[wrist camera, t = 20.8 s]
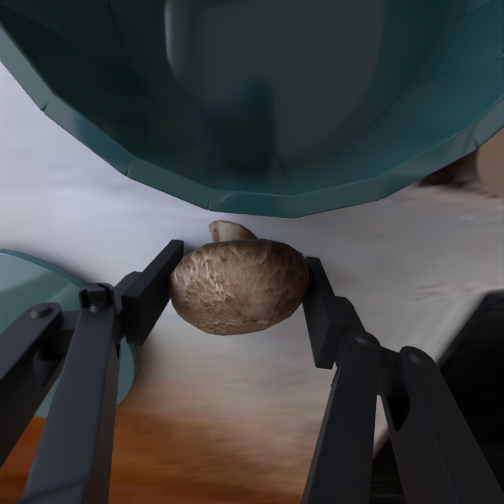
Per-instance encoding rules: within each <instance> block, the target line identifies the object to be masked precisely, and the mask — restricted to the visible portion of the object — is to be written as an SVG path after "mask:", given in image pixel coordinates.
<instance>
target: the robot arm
mask: <svg viewBox="0 0 504 504" xmlns="http://www.w3.org/2000/svg"><path fill="white" fill-rule="evenodd" d="M183 257H184V241H180V240H171V241H170V242H169V244H168V245H167V246H166V247H165V248H164V249H163V250H162V251H161V252H160V253H159V254H158V256H157V257H156V258H155V259H154V260H153V261H152V262H151V263H150V264H149V265H148V266H147V268H146V269H145V270H144V271H143V272H136V271H134V272H132V273H130V274H128V275H126V276H125V277H124V278H123V279H122V280H121V282H119V283H118V284H117V286H115V287H114V288H113V286H112V285H110V284H107V283H95V284H90V285H88V286H85V287H84V288H82V289H81V290H80V291H79V292H78V295H79V300H80V304H81V309H80V310H70V311H62V308H61V305H60V304H58V303H56V302H44V303H39V304H36V305H34V306H32V307H30V308H28V309H27V310H25V311H24V312H23V313H22V314H21V315H20V316H19V317H18V318H17V319H16V320H15V321H13V322H12V323H11V324H10V325H9V326H8V327H7V328H6V329H5V330H4V331H3V332H2V333H1V334H0V468H1V467H2V465H3V464H4V462H5V460H6V459H7V457H8V456H9V454H10V453H11V451H12V449H13V448H14V446H15V445H16V443H17V441H18V440H19V438H20V437H21V435H22V434H23V432H24V430H25V429H26V427H27V426H28V424H29V423H30V421H31V419H32V418H33V416H34V415H35V413H36V411H37V410H38V408H39V407H40V405H41V404H42V402H43V400H44V399H45V397H46V396H47V394H48V393H49V391H50V389H51V388H52V386H53V385H54V383H55V381H56V380H57V378H58V377H59V375H60V378H59V381H58V384H57V387H56V390H55V393H54V397H53V400H52V403H51V406H50V409H49V412H48V416H47V419H46V422H45V425H44V428H43V431H42V434H41V438H40V441H39V444H38V447H37V450H36V453H35V457H34V460H33V463H32V466H31V469H30V472H29V476H28V479H27V482H26V485H25V488H24V491H23V494H22V496H21V498H20V499H19V501H18V502H16V503H15V504H108V497H109V485H110V474H111V462H112V450H113V439H114V427H115V416H116V404H117V392H118V381H119V369H120V358H121V342H120V341H121V340H122V339H123V337H124V336H125V335H126V343H127V344H134V345H143V344H144V342H145V340H146V339H147V337H148V335H149V334H150V332H151V330H152V329H153V327H154V325H155V324H156V322H157V320H158V319H159V317H160V315H161V314H162V312H163V310H164V308H165V307H166V305H167V303H168V302H169V300H170V298H171V295H170V289H169V277H170V275H171V274H172V273H173V271H174V270H175V268H176V267H177V266H178V264H179V263H180V261H181V260H182V259H183ZM306 263H307V266H308V271H309V276H310V285H309V289H308V292H307V294H306V296H305V298H304V300H303V301H302V304H303V308H304V313H305V318H306V323H307V328H308V332H309V337H310V342H311V347H312V352H313V356H314V361H315V366H316V368H323V369H331V370H332V367H333V364H334V361H335V363H336V366H337V370H336V373H335V376H334V379H333V381H332V384H331V391H330V395H329V399H328V402H327V406H326V410H325V414H324V417H323V421H322V425H321V429H320V432H319V436H318V440H317V444H316V447H315V451H314V455H313V459H312V463H311V466H310V470H309V474H308V478H307V481H306V485H305V489H304V493H303V496H302V500H301V504H369V501H370V486H371V472H372V458H373V444H374V430H375V415H376V401H377V395H379V396H381V399H382V403H383V408H384V412H385V416H386V420H387V424H388V428H389V433H390V437H391V441H392V445H393V449H394V453H395V458H396V462H397V466H398V470H399V474H400V478H401V483H402V487H403V491H404V495H405V499H406V503H407V504H504V493H503V492H502V490H501V488H500V486H499V484H498V482H497V480H496V478H495V476H494V474H493V472H492V471H491V469H490V467H489V465H488V463H487V461H486V459H485V457H484V455H483V453H482V451H481V450H480V448H479V446H478V444H477V442H476V440H475V438H474V436H473V434H472V432H471V430H470V429H469V427H468V425H467V423H466V421H465V419H464V417H463V415H462V413H461V411H460V409H459V407H458V406H457V404H456V402H455V400H454V398H453V396H452V394H451V392H450V390H449V388H448V386H447V385H446V383H445V381H444V379H443V377H442V375H441V373H440V371H439V369H438V367H437V365H436V364H435V362H434V360H433V359H432V358H431V357H430V356H429V355H428V354H426V353H425V352H423V351H422V350H420V349H417V348H415V347H410V346H405V347H402V348H401V350H400V352H399V353H398V352H396V351H393V350H390V349H387V348H384V347H382V346H380V342H379V341H378V340H377V338H376V337H375V336H373V335H372V334H370V333H368V332H366V331H365V329H364V327H363V325H362V323H361V321H360V319H359V317H358V316H357V313H356V311H355V309H354V307H353V305H352V303H351V302H350V301H349V300H348V299H347V298H346V297H340V296H335V294H334V292H333V290H332V287H331V285H330V283H329V280H328V278H327V275H326V273H325V271H324V268H323V266H322V264H321V261H320V259H319V258H316V257H307V262H306Z"/></svg>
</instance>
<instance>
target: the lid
mask: <svg viewBox="0 0 504 504" xmlns="http://www.w3.org/2000/svg"><path fill="white" fill-rule="evenodd" d="M85 286H88V285H87V284H85V283H84V282H82V281H81V280H79V279H78V278H77V277H75V276H74V275H72V274H70V273H68V272H67V271H65V270H63V269H61V268H59V267H57V266H55V265H53V264H51V263H49V262H46V261H44V260H42V259H39V258H36V257H33V256H30V255H27V254H24V253H20V252H15V251H10V250H5V249H0V334H1V333H2V332H3V331H4V330H5V329H6V328H7V327H8V326H9V325H10V324H11V323H12V322H13V321H15V320H16V319H17V318H18V317H19V316H20V315H21V314H22V313H23V312H24V311H25V310H27V309H28V308H30V307H32V306H34V305H36V304H39V303H44V302H56V303H58V304H60V305H61V308H62V311H70V310H80V309H81V304H80V300H79V295H78V292H79V291H80V290H81V289H82V288H84V287H85ZM120 342H121V358H120V369H119V381H118V392H117V404H116V406H117V405H118V404H119V403H120V402H121V401H123V399H124V398H125V397H126V395H127V394H128V393H129V391H130V389H131V387H132V385H133V383H134V381H135V377H136V373H137V355H136V350H135V346H134V344H127V343H126V335H125V336H124V337H123V339H122V340H121V341H120ZM59 378H60V375H59V377H58V378H57V380H56V381H55V383H54V385H53V386H52V388H51V389H50V391H49V393H48V394H47V396H46V397H45V399H44V400H43V402H42V404H41V405H40V407H39V408H38V410H37V411H36V413H35V415H34V416H38V417H43V418H47V416H48V412H49V409H50V406H51V403H52V400H53V397H54V393H55V390H56V387H57V384H58V381H59Z"/></svg>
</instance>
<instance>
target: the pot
mask: <svg viewBox="0 0 504 504" xmlns="http://www.w3.org/2000/svg"><path fill="white" fill-rule="evenodd" d="M0 61H1V62H2V63H3V64H4V66H5V67H6V68H7V69H8V71H9V72H10V73H11V74H12V75H13V77H14V78H15V79H16V80H17V82H18V83H19V84H20V85H21V86H22V88H23V89H24V90H25V91H26V93H27V94H28V95H29V96H30V97H31V99H32V100H33V101H34V102H35V104H36V105H37V106H38V107H39V108H40V110H42V111H43V112H44V113H45V115H47V116H48V117H49V118H50V119H52V120H53V121H54V122H56V123H57V124H58V125H60V126H61V127H62V128H63V129H65V130H66V131H67V132H69V133H70V134H71V135H72V136H74V137H75V138H76V139H78V140H79V141H80V142H82V143H83V144H84V145H85V146H87V147H88V148H89V149H91V150H92V151H93V152H94V153H96V154H97V155H98V156H100V157H101V158H102V159H104V160H105V161H106V162H107V163H109V164H110V165H111V166H113V167H114V168H115V169H116V170H118V171H119V172H120V173H122V174H123V175H125V176H127V177H128V178H130V179H133V180H135V181H137V182H140V183H142V184H145V185H147V186H150V187H152V188H155V189H157V190H159V191H162V192H164V193H167V194H169V195H172V196H174V197H176V198H179V199H181V200H184V201H186V202H189V203H191V204H194V205H196V206H198V207H201V208H203V209H206V210H208V209H209V211H214V212H225V213H236V214H247V215H258V216H269V217H280V218H298V217H303V216H307V215H312V214H317V213H321V212H326V211H331V210H336V209H340V208H345V207H350V206H354V205H359V204H364V203H369V202H373V201H378V200H381V199H384V198H386V197H387V196H389V195H391V194H393V193H395V192H397V191H399V190H401V189H403V188H405V187H407V186H409V185H411V184H412V183H414V182H416V181H418V180H420V179H422V178H424V177H426V176H428V175H430V174H432V173H434V172H436V171H437V170H439V169H441V168H443V167H445V166H447V165H449V164H451V163H453V162H455V161H457V160H459V159H461V158H463V157H464V156H466V155H468V154H470V153H472V152H474V151H476V150H477V148H479V147H481V146H482V145H483V144H484V143H486V142H487V141H488V140H489V139H490V138H491V137H493V136H494V135H495V134H496V133H497V132H498V131H500V130H501V129H502V128H503V127H504V0H0Z"/></svg>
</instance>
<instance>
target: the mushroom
mask: <svg viewBox="0 0 504 504" xmlns="http://www.w3.org/2000/svg"><path fill="white" fill-rule="evenodd" d="M209 228H210V232H211V235H212V238H213V243H209V244H205V245H204V246H202V247H200V248H198V249H196V250H194V251H192V252H191V253H189V254H187V255H185V256H184V257H183V259H182V260H181V261H180V263H179V264H178V266H177V267H176V268H175V270H174V271H173V273H172V274H171V275H170V277H169V289H170V295H171V300H172V305H173V307H174V309H175V310H176V312H177V314H178V315H179V316H180V317H182V318H183V319H184V320H185V321H187V322H188V323H190V324H192V325H193V326H195V327H197V328H198V329H200V330H202V331H204V332H206V333H209V334H215V335H223V336H225V335H238V334H247V333H252V332H256V331H261V330H265V329H267V328H269V327H271V326H273V325H275V324H277V323H279V322H281V321H283V320H285V319H287V318H289V317H290V316H291V315H292V314H293V313H294V312H295V311H296V309H297V308H298V307H299V305H300V304H301V303H302V301H303V300H304V298H305V296H306V294H307V292H308V289H309V285H310V276H309V271H308V266H307V263H306V260H305V258H304V256H303V255H302V254H301V253H300V252H298V251H297V250H295V249H294V248H292V247H291V246H289V245H287V244H285V243H281V242H276V241H271V240H266V239H257V237H256V236H255V235H254V234H253V233H252V232H251V231H250V230H248V229H247V228H245V227H244V226H242V225H240V224H236V223H233V222H229V221H222V220H218V221H214V222H212V223H211V224H210V225H209Z"/></svg>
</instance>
